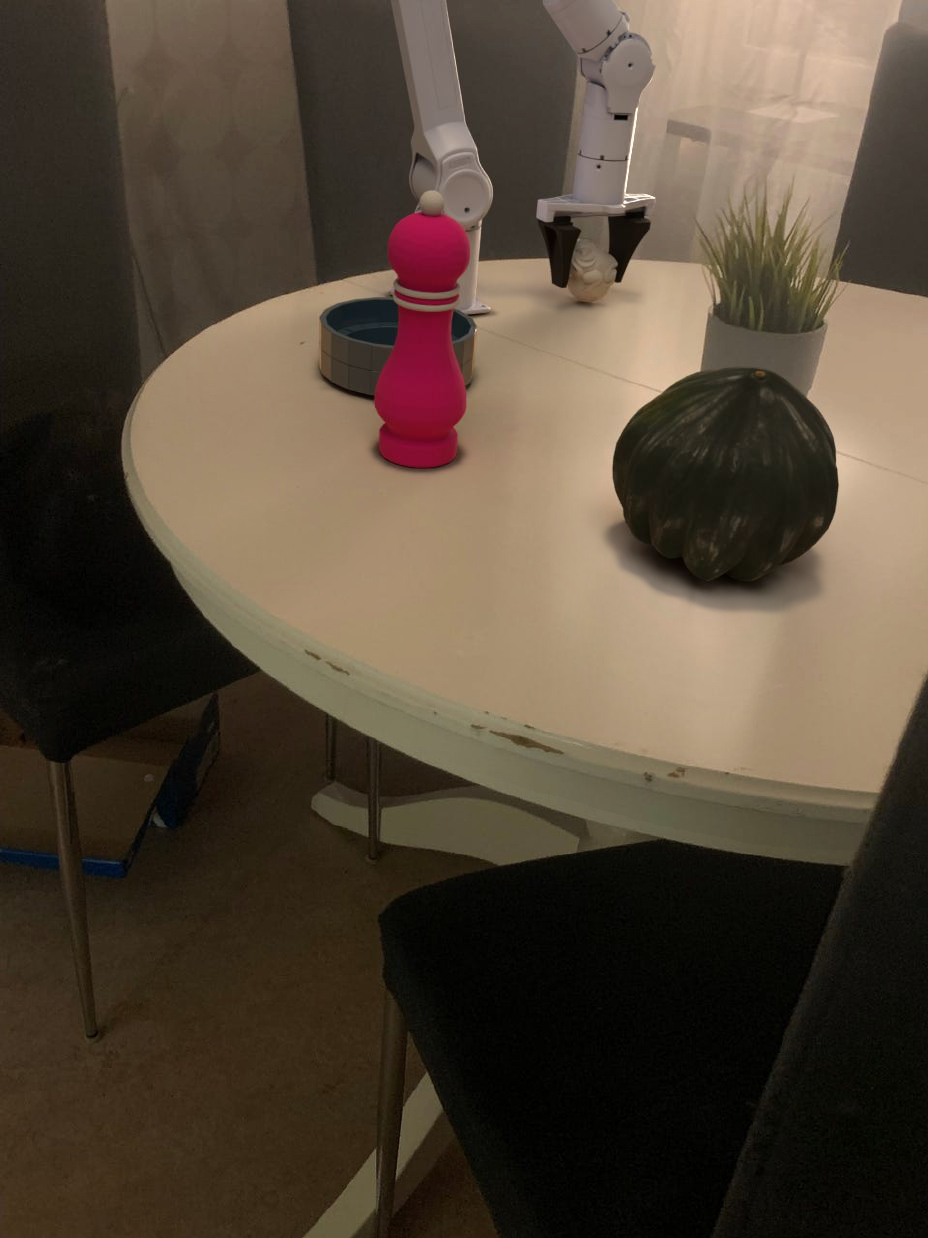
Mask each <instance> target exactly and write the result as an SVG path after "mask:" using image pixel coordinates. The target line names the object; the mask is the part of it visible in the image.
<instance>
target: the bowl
mask: <svg viewBox="0 0 928 1238" xmlns="http://www.w3.org/2000/svg"><path fill="white" fill-rule="evenodd" d="M398 323H399V313H398V304H397V303H396V302H395V301H394V300H393V296H390V297H389V296H386V297H385V296H377V297H376V296H375V297H364V298H363V297H362V298H356V299H355V298H354V299H350V300H345V301H340V302H337V303H335V304H333V305H330V306H329V307H327V308H325V309H324V310H323V311H322V313H321V314H320V315H319V317H318V324H319V325H318V364H319V369H320V373H321V374H322V375H323V376H324V377H325V378H326V379H328V380H329V381H330V382H331V383H333V384H336V385H337V386H340V387H342V388H344V389H346V390H349V391H353V392H357V393H361V394H366V395H370V396H375V390H376V385H377V382H378V379H379V376H380V373H381V371H382V369H383V367H384V365H385V364H386V362H387V360H388V358H389V356H390V354H391V352H392V350H393V347H394V345H395V341H396V337H397V334H398ZM477 334H478V325H477V324H476V322H475V320H474V319H473V317H471V316H469V314H467V315H466V314H465V313H463V312H461V311H459V310H456V309H454V310H453V316H452V321H451V338H452V345H453V350H454V353H455V356H456V359H457V362H458V365H459V368H460V370H461V373H462V376H463V379H464V384H465V386H467V385H468V384H469V383H471V381H472V379H473V376H474V373H475V372H474V371H475V361H476V360H475V359H476V349H477Z"/></svg>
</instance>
